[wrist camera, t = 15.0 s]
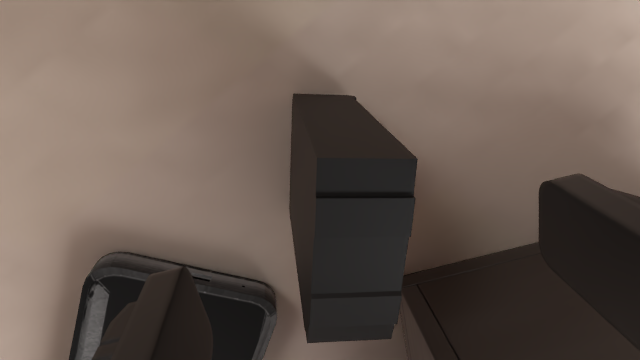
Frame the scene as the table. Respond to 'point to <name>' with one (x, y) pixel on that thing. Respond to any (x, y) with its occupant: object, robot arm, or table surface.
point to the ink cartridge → (348, 218)
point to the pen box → (503, 313)
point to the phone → (214, 290)
